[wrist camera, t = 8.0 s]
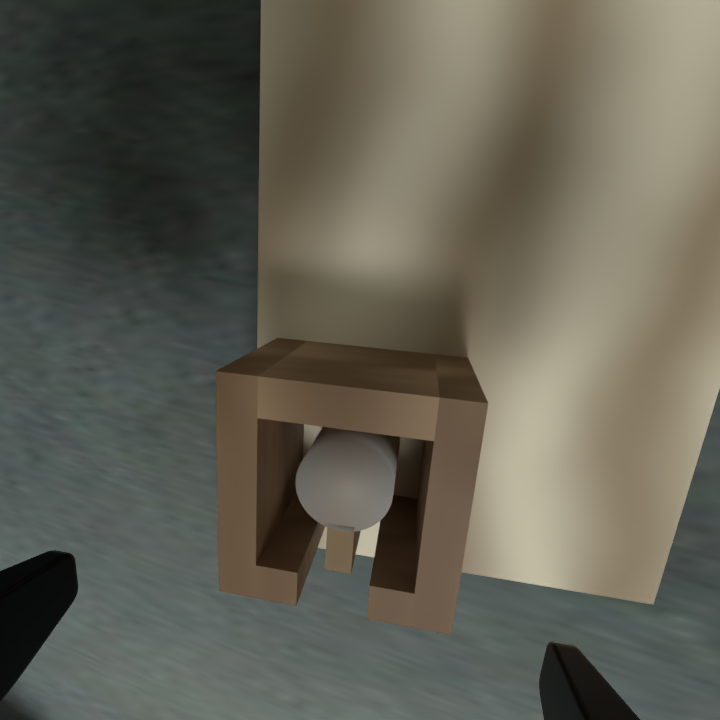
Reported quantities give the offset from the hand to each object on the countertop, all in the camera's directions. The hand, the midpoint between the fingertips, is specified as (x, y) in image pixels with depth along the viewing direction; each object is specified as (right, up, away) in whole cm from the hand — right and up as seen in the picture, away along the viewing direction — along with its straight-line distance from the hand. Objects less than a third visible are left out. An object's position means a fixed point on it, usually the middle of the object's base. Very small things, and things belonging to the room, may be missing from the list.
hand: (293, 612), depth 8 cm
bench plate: (+5, +6, +7) cm, 11 cm away
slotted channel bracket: (+1, +2, +7) cm, 8 cm away
